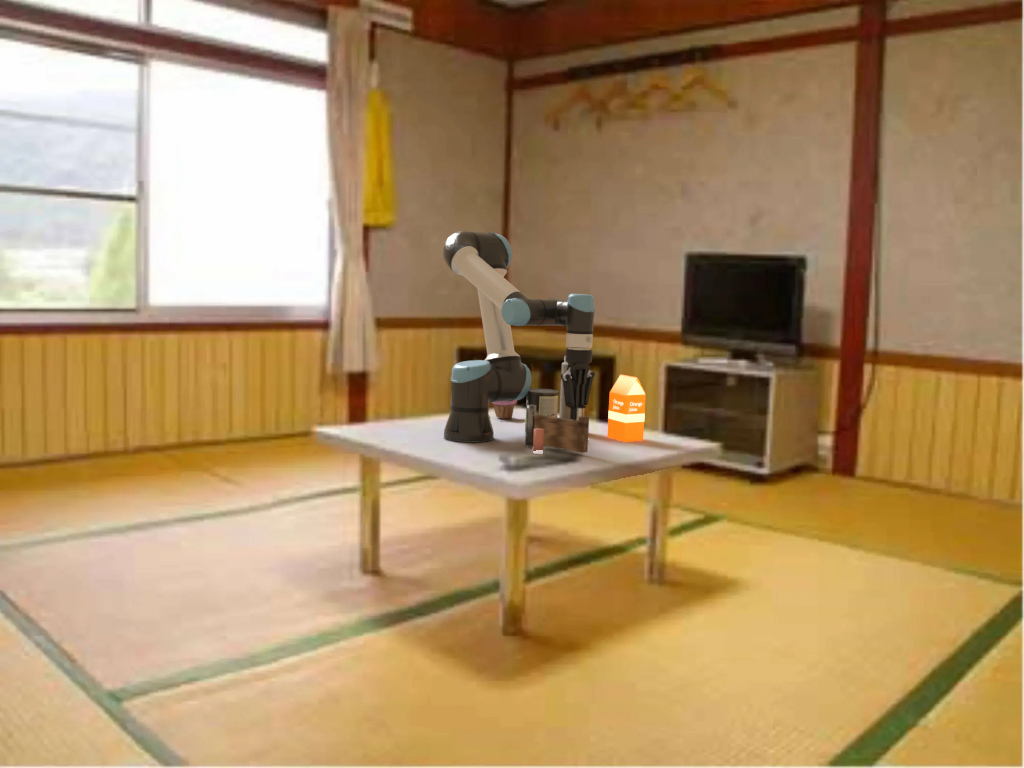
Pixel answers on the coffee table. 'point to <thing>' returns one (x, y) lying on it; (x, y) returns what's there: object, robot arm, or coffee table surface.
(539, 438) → the latch post
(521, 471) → the coffee table surface
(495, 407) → the cupcake
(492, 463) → the coffee table surface
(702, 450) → the coffee table surface
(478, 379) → the robot arm
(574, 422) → the gate
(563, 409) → the thermos bottle
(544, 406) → the coffee can
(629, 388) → the orange juice
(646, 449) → the coffee table surface
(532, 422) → the hinge post
